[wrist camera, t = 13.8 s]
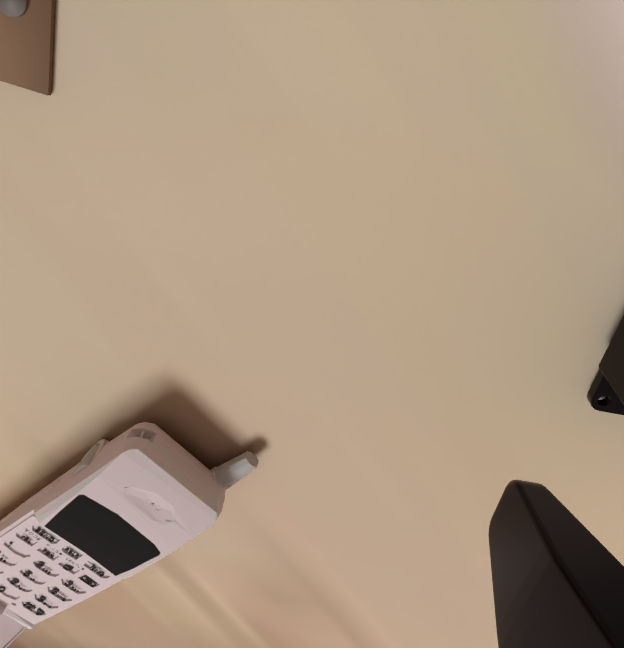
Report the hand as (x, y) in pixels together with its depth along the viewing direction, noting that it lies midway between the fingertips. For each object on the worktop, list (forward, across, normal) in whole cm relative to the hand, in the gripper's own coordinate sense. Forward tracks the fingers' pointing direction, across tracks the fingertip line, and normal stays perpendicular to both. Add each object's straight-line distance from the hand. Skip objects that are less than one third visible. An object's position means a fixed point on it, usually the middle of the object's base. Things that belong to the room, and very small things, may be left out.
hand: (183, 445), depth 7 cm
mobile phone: (+14, +10, +20) cm, 26 cm away
